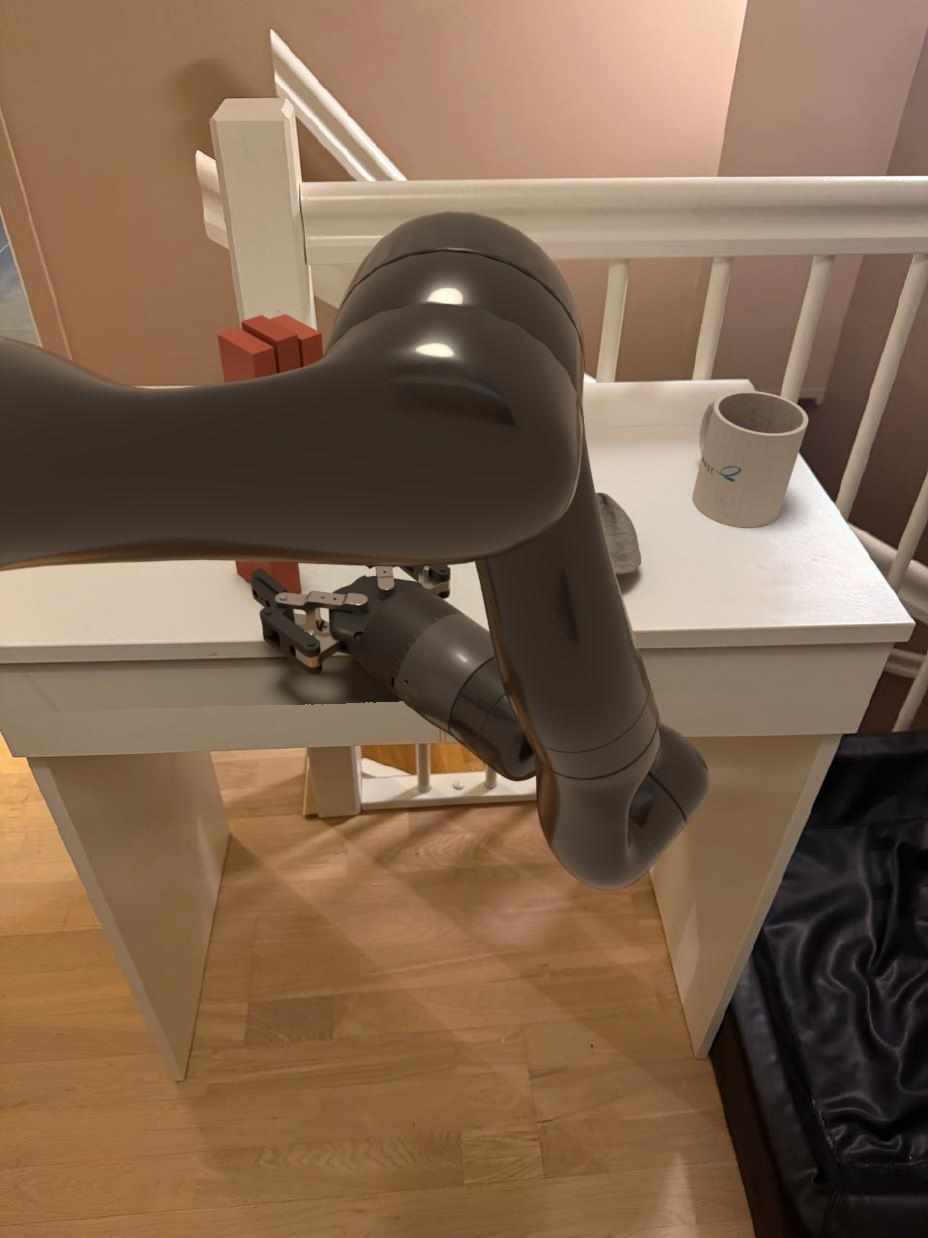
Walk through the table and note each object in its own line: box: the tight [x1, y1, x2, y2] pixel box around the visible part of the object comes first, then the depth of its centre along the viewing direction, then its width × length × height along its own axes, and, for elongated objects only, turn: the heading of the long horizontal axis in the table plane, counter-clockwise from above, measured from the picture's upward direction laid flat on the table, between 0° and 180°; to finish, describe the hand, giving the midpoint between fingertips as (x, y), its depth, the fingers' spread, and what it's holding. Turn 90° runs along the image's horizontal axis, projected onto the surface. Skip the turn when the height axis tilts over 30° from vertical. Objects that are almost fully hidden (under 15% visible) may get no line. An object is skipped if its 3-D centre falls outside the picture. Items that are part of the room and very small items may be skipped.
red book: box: [234, 561, 302, 594], centre depth 75 cm, size 3×6×10 cm, turn 44°
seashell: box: [595, 492, 642, 576], centre depth 81 cm, size 12×8×5 cm
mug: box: [692, 390, 809, 528], centre depth 88 cm, size 12×9×10 cm
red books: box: [216, 313, 324, 383], centre depth 96 cm, size 9×6×10 cm
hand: (301, 556), depth 71 cm, fingers open, 8 cm apart
